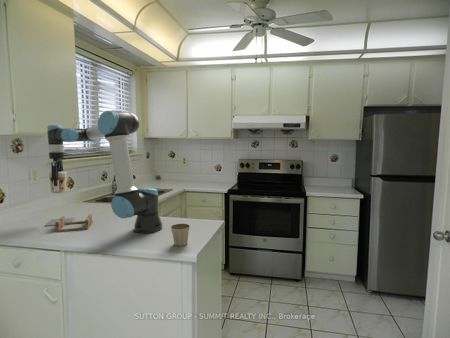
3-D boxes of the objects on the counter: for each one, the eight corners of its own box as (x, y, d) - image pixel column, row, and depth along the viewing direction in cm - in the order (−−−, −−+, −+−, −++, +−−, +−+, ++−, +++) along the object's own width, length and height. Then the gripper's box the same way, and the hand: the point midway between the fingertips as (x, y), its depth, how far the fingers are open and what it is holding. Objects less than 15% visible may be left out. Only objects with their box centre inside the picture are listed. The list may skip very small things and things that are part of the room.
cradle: (88, 229, 165) (87, 220, 164) (55, 232, 161) (54, 223, 160) (92, 221, 179) (92, 213, 179) (62, 224, 175) (62, 216, 175)
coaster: (68, 224, 174) (68, 223, 174) (44, 226, 171) (44, 225, 171) (74, 218, 187) (74, 217, 187) (51, 220, 183) (51, 219, 183)
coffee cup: (48, 194, 170) (47, 173, 168) (51, 191, 178) (49, 171, 177) (67, 192, 173) (65, 172, 172) (68, 190, 182) (67, 170, 180)
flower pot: (179, 249, 135) (178, 230, 134) (166, 244, 141) (166, 226, 140) (194, 243, 142) (194, 226, 141) (181, 239, 148) (181, 222, 147)
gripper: (58, 152, 163) (60, 192, 166) (68, 150, 184) (70, 186, 187) (42, 153, 162) (45, 193, 164) (54, 150, 182) (57, 186, 185)
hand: (58, 189), depth 175 cm, fingers closed on coffee cup, 9 cm apart
